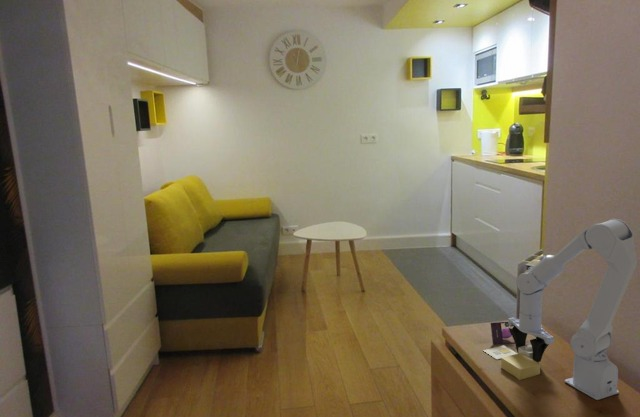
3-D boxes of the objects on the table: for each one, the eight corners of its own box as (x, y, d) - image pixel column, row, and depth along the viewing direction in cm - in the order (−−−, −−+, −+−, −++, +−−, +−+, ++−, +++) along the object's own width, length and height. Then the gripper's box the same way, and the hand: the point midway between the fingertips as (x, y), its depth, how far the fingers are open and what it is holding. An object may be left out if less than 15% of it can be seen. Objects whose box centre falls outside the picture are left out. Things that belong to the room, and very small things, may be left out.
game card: (491, 323, 142) (519, 321, 142) (485, 321, 147) (512, 320, 147) (494, 345, 141) (522, 343, 141) (487, 343, 146) (514, 341, 146)
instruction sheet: (518, 354, 135) (518, 353, 135) (496, 359, 132) (496, 358, 132) (503, 345, 140) (503, 344, 140) (482, 351, 138) (482, 350, 138)
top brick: (539, 363, 129) (539, 347, 129) (528, 366, 128) (529, 350, 127) (528, 357, 133) (529, 342, 132) (517, 360, 132) (518, 344, 131)
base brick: (539, 374, 124) (540, 364, 123) (520, 379, 121) (520, 369, 121) (520, 362, 130) (520, 352, 130) (501, 367, 128) (501, 357, 127)
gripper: (562, 319, 123) (560, 365, 125) (521, 301, 136) (520, 343, 138) (542, 324, 120) (540, 371, 123) (503, 305, 134) (502, 348, 136)
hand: (528, 356), depth 130 cm, fingers open, 5 cm apart
